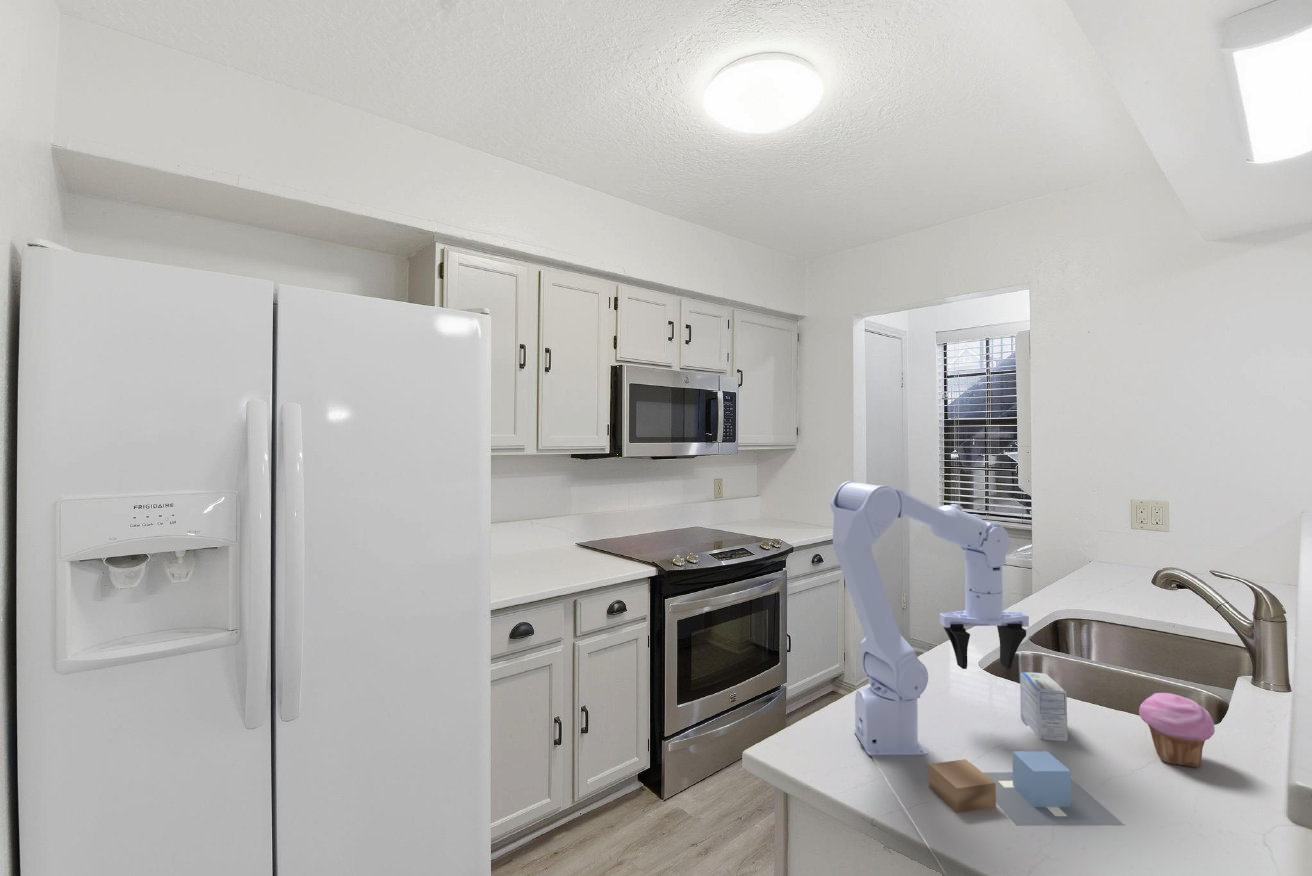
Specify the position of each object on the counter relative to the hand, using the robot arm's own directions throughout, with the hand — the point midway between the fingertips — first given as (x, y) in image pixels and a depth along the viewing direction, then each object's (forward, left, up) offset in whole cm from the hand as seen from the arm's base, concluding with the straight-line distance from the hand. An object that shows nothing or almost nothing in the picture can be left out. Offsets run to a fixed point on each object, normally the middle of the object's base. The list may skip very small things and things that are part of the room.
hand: (983, 666), depth 105 cm
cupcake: (+24, -11, -11) cm, 28 cm away
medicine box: (+9, -2, -11) cm, 14 cm away
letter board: (-3, -21, -10) cm, 24 cm away
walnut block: (-14, -21, -11) cm, 27 cm away
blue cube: (-3, -21, -10) cm, 23 cm away
